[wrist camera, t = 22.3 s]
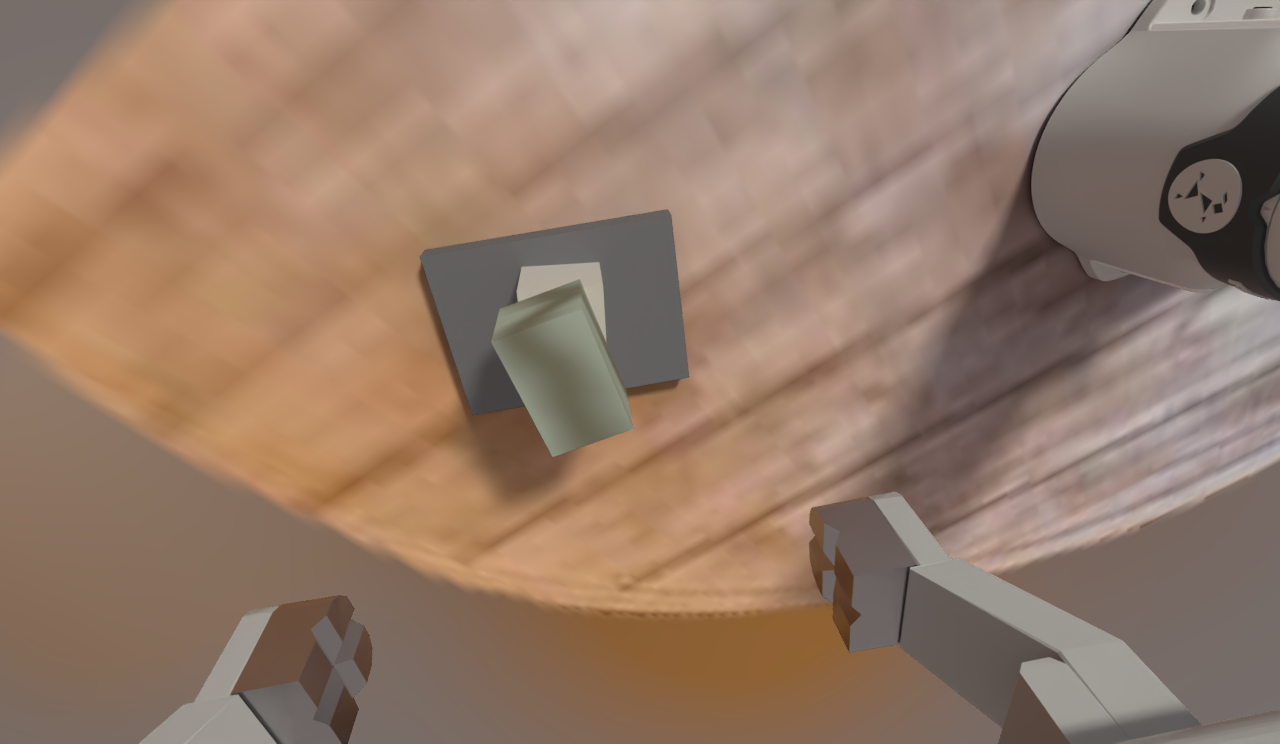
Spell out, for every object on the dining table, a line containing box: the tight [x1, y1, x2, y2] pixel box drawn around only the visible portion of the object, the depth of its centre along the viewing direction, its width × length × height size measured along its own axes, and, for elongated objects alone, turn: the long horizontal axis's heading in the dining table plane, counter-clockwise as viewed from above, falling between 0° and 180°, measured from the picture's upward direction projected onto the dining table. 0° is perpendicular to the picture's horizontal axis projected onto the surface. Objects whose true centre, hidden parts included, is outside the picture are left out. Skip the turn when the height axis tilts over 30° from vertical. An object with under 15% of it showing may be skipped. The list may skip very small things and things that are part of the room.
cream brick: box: [517, 262, 606, 340], centre depth 38 cm, size 5×8×4 cm, turn 2°
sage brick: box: [491, 279, 633, 457], centre depth 34 cm, size 5×8×4 cm, turn 19°
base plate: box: [420, 210, 689, 415], centre depth 41 cm, size 16×12×2 cm
